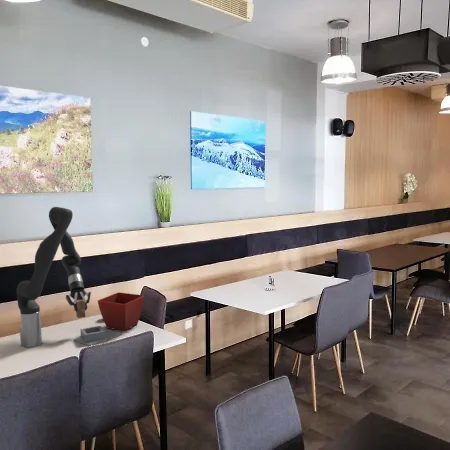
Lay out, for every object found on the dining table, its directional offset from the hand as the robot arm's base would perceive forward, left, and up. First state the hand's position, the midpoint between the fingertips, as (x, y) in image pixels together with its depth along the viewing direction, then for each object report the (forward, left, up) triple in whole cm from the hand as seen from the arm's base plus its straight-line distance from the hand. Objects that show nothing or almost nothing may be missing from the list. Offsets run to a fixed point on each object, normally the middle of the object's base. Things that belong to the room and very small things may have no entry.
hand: (81, 310), depth 244 cm
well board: (+2, -10, -14) cm, 17 cm away
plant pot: (+22, -7, -14) cm, 27 cm away
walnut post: (+1, +2, -4) cm, 5 cm away
